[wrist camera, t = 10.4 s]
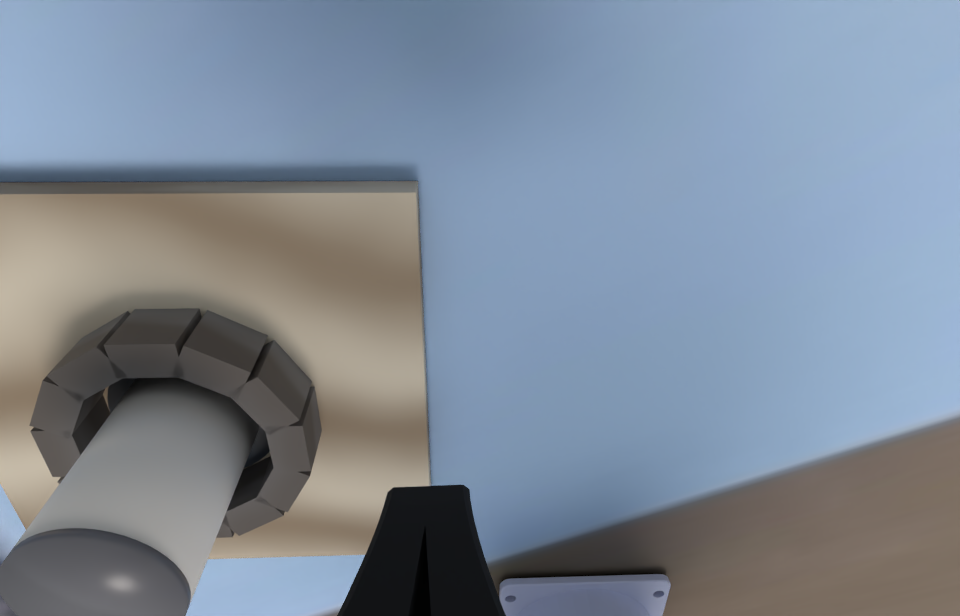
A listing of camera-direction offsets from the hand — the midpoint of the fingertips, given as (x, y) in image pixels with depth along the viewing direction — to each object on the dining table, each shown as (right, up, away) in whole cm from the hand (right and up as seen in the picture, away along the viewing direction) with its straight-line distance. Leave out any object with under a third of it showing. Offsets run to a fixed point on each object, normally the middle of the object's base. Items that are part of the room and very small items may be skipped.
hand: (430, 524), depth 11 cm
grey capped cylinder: (-9, 0, +10) cm, 14 cm away
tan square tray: (-9, +1, +11) cm, 14 cm away
